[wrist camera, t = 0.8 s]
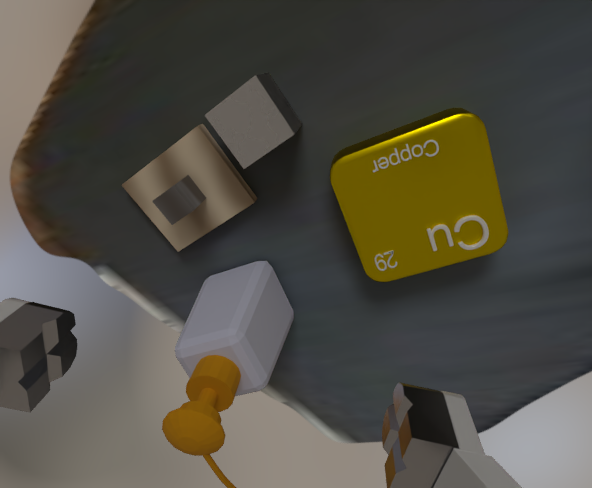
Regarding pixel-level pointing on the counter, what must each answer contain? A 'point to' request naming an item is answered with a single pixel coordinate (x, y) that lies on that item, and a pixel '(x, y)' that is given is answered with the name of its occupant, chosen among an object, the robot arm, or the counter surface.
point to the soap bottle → (227, 353)
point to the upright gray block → (254, 119)
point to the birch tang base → (204, 175)
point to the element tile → (421, 196)
